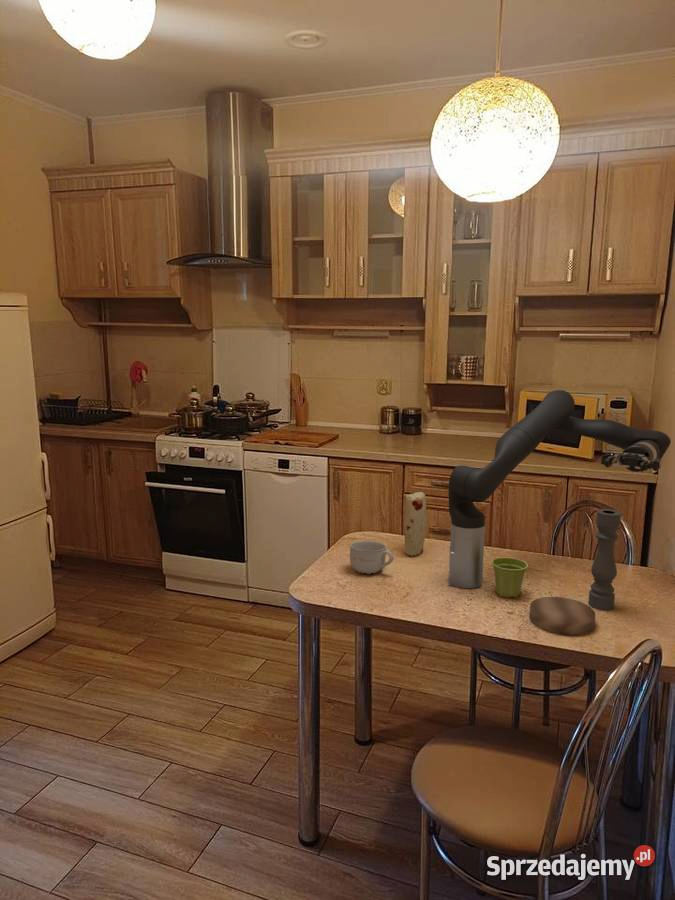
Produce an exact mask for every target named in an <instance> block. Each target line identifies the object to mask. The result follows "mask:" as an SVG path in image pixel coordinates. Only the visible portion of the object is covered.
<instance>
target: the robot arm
mask: <svg viewBox="0 0 675 900" xmlns="http://www.w3.org/2000/svg"><path fill="white" fill-rule="evenodd" d="M574 410H575V399H574V397H573V395H572V394H571V393H570V392H568V391H566V390H562V389H557V390H553V391H549V392H548V393H547V394H546V395H545V396H544V397H543V399H542V400H541V402H539V404H538V405H537V406H536V407H535V408H534V409H533V410H532V411H531V412H529V413H528V414H527V415H525V416H524V417H523V418H521V419H520V420H519V421H518V422H517V423H515V424H514V425H513V426H511V428H508V429H507V431H506V432H504V433H503V434H502V435H501V436H500V437H499V438H498V440H497V441H496V444H495V449H494V458H493V460H492V461H491V462H489V464H487V465H486V466H484V467H483V468H479V467H478V468H477V467H473V466H468V465H462V464H461V465H457V466H456V467H454V469H453V470H452V471H451V473H450V475H449V481H448V512H449V516H450V540H449V541H450V543H449V544H450V546H449V556H448V557H449V559H448V561H449V562H448V563H449V564H448V585H449V586H454V587H457V588H462V589H475V588H479V587H481V586H482V584H483V575H484V574H483V572H484V553H485V552H484V551H485V549H484V548H485V531H486V529H485V527H486V516H485V514H484V513H483V512H482V511H481V510H480V509H478V507H477V506H476V505H475V504H474V503H476V504H477V503H483V502H485V501H486V500H488V499H489V498H490V497H491V496H492V495H493V494H494V493H495V491H496V490H497V489H498V487H500V485H502V483H503V481H504V480H505V479H506V478H507V477H508V476H509V475H510V474H511V473H512V472H513V470H515V469H516V467H518V466H519V464H521V463H522V462H523V461H524V460H525V459H527V457H528V456H530V455H531V454H532V453H533V452H534V451H535V449H536V448H537V447H538V446H539V445H540V443H541V442H542V441H543V440H544V439H545V438H546V436H547V434H548V433H549V432H550V430H553V431H559V432H561V433H562V432H563V433H568V434H573V435H576V436H580V437H587V438H590V439H594V440H597V441H600V442H604V443H606V444H608V445H611V446H614V447H616V448H620V449H622V450H623V451H622V453H615V454H613V452H611V451H609V452H607V453H606V452H605V453H604V454H602V455H601V462H600V464H601V465H603V466H604V467H605V468H607V469H608V468H610V467H612V466H614V467H617V468H623V467H624V468H625V469H626V470H628V471H630V472H635V473H640V472H642V473H644V472H645V471H650V470H651V469H652V471H653V472H657V471H659V470H660V469H661V466H662V459H663V457H664V456H665V453H666V452H667V450H668V448H669V447H670V445H671V442H672V441H671V437H670V436H668V435H667V434H666V433H664V432H663V431H660V430H652V429H641V428H635V427H632V426H629V425H626V424H624V423H621V422H619V421H615V420H612V419H611V420H610V419H605V418H604V419H596V418H595V419H592V418H591V419H589V418H579V417H574V416H572V414H573V412H574Z"/></svg>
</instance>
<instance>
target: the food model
mask: <svg viewBox="0 0 675 900" xmlns="http://www.w3.org/2000/svg"><path fill="white" fill-rule="evenodd" d="M426 498H427V497H426V494H425V493H424V492H423V491H416V492H413V493H410V494H406V495H405V506H404V507H405V508H404V519H403V520H404V521H403V524H404V526H403V527H404V528H403V529H404V530H403V533H404V553H405V554H406V555H408V556H409V555H410V556H413V555H415V556H417V554H418V555H419V554H421V553H422V552H423V551H424V545H425V540H426V534H427V533H426V532H427V520H428V519H427V518H428V517H427V499H426ZM410 556H409V557H410Z"/></svg>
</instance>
